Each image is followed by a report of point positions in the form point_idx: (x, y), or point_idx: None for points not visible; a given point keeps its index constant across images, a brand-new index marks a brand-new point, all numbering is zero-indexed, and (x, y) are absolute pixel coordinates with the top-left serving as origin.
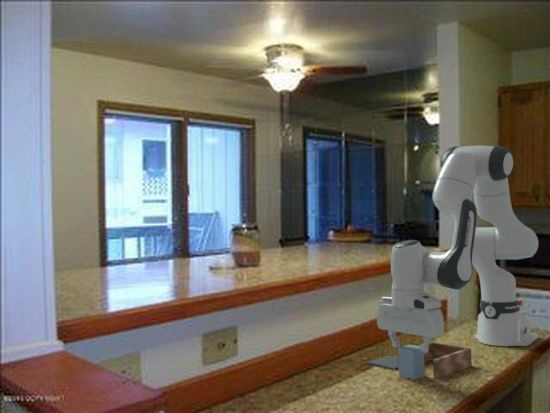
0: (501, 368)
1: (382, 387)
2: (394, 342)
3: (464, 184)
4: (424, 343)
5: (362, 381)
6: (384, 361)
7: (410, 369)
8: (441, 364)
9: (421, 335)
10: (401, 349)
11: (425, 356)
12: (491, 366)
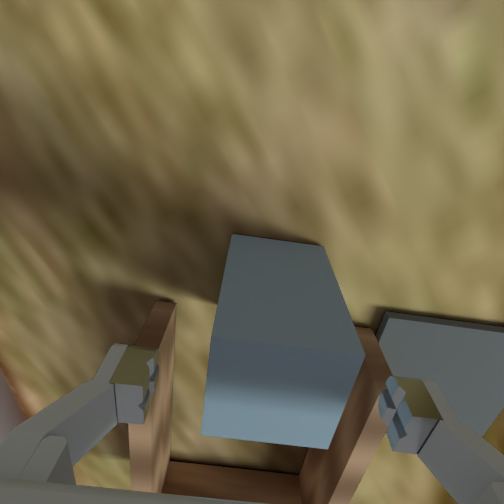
0: (75, 480)
1: (324, 11)
2: (424, 407)
3: None
4: (70, 404)
5: (493, 50)
6: (468, 377)
7: (249, 260)
8: None
9: (27, 483)
10: (327, 343)
11: (313, 466)
12: (109, 484)
